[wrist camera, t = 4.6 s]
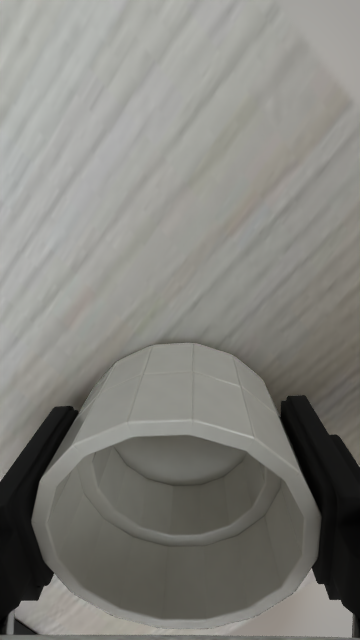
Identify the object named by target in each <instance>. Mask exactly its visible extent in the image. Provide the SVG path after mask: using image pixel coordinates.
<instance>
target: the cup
mask: <svg viewBox="0 0 360 640" xmlns="http://www.w3.org/2000/svg"><path fill="white" fill-rule="evenodd" d="M31 521H32V522H31V524H32V527H33V530H34V534H35V537H36V540H37V543H38V546H39V549H40V552H41V555H42V558H43V560H44V562H45V564H46V565H47V566H48V567H49V568H50V569H51V570H52V571H53V572H54V573H55V575H56V576H57V577H58V578H59V579H60V580H61V581H62V582H63V583H64V585H65V586H66V587H67V588H68V589H69V590H70V591H71V592H72V593H74V595H76V596H78V597H80V598H81V599H83V600H85V601H87V602H88V603H90V604H92V605H94V606H96V607H97V608H99V609H101V610H103V611H104V612H106V613H108V614H110V615H112V616H114V617H117V618H121V619H125V620H129V621H133V622H137V623H141V624H145V625H149V626H152V627H156V628H162V629H209V628H215V627H219V626H223V625H227V624H230V623H234V622H238V621H242V620H246V619H250V618H254V617H255V616H258V615H260V614H261V613H263V612H265V611H266V610H268V609H269V608H271V607H273V606H274V605H276V604H277V603H279V602H281V601H282V600H284V599H285V598H287V597H288V596H290V595H292V594H293V592H295V591H296V590H297V588H298V587H299V585H300V584H301V582H302V581H303V579H304V578H305V577H306V575H307V574H308V572H309V571H310V569H311V568H312V566H313V565H314V564H315V562H316V561H317V558H318V555H319V544H320V532H321V521H322V516H321V512H320V509H319V507H318V504H317V502H316V500H315V497H314V495H313V493H312V490H311V488H310V485H309V483H308V481H307V478H306V476H305V474H304V471H303V469H302V466H301V464H300V462H299V459H298V457H297V455H296V452H295V450H294V447H293V445H292V443H291V440H290V438H289V436H288V433H287V431H286V428H285V426H284V424H283V421H282V419H281V417H280V414H279V412H278V409H277V407H276V405H275V403H274V401H273V399H272V397H271V395H270V393H269V391H268V389H267V387H266V385H265V383H264V381H263V380H262V378H261V377H260V376H258V375H257V374H256V373H255V372H253V371H252V370H251V369H250V368H249V367H247V366H246V365H245V364H244V363H243V362H241V361H240V360H239V359H238V358H236V357H235V356H234V355H232V354H229V353H226V352H223V351H219V350H216V349H213V348H210V347H207V346H203V345H200V344H197V343H176V344H159V345H152V346H148V347H146V348H144V349H142V350H140V351H138V352H136V353H133V354H131V355H129V356H127V357H125V358H123V359H120V360H118V361H117V362H115V363H114V364H113V365H112V367H111V368H110V369H109V370H108V371H107V372H106V373H105V375H104V376H103V377H102V378H101V379H100V380H99V381H98V383H97V384H96V385H95V386H94V387H93V389H92V391H91V393H90V394H89V396H88V398H87V400H86V401H85V403H84V405H83V407H82V408H81V410H80V412H79V413H78V415H77V417H76V419H75V420H74V422H73V424H72V425H71V427H70V429H69V431H68V432H67V434H66V436H65V438H64V439H63V441H62V443H61V444H60V446H59V448H58V450H57V451H56V453H55V455H54V457H53V458H52V460H51V462H50V464H49V465H48V467H47V469H46V470H45V472H44V474H43V476H42V477H41V479H40V481H39V486H38V490H37V495H36V500H35V504H34V509H33V513H32V518H31Z"/></svg>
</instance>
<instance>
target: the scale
mask: <svg viewBox="0 0 360 640" xmlns="http://www.w3.org/2000/svg"><path fill="white" fill-rule="evenodd" d="M13 635H36V634H35V633H33V632H32V631H31V630H29V629H28V628H26V627H25V626H23V625H22V624H20V623H19V622H17V621H16V620H15V619H14V632H13Z"/></svg>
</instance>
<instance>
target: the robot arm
mask: <svg viewBox="0 0 360 640" xmlns="http://www.w3.org/2000/svg"><path fill="white" fill-rule="evenodd" d="M77 415H78V411H77V410H74V409H73V407H72V406H60V407H54V408H53V409H52V411H51V412H50V414H49V415H48V416H47V418H46V419H45V421H44V422H43V423H42V425H41V426H40V427H39V429H38V430H37V432H36V433H35V434H34V436H33V437H32V439H31V440H30V441H29V443H28V444H27V446H26V447H25V448H24V450H23V451H22V452H21V454H20V455H19V457H18V458H17V459H16V461H15V462H14V464H13V465H12V466H11V468H10V469H9V471H8V472H7V473H6V475H5V476H4V477H3V479H2V480H1V482H0V640H360V467H359V466H358V464H357V463H356V461H355V459H354V458H353V456H352V455H351V453H350V452H349V450H348V449H347V447H346V446H345V444H344V442H343V441H342V439H341V438H340V437H339V436H338V435H329V434H328V432H327V431H326V429H325V427H324V426H323V424H322V422H321V421H320V419H319V417H318V416H317V414H316V412H315V411H314V409H313V407H312V406H311V404H310V402H309V401H308V399H307V397H306V396H305V395H298V396H287V399H286V400H283V401H281V419H282V421H283V424H284V426H285V428H286V431H287V433H288V436H289V438H290V440H291V443H292V445H293V447H294V450H295V452H296V455H297V457H298V459H299V462H300V464H301V466H302V469H303V471H304V474H305V476H306V478H307V481H308V483H309V485H310V488H311V490H312V493H313V495H314V497H315V500H316V502H317V504H318V507H319V509H320V512H321V516H322V521H321V532H320V544H319V555H318V558H317V561H316V562H315V564H314V565H313V566H312V569H313V572H314V575H315V578H316V581H317V583H318V584H324V585H325V588H326V591H327V593H328V596H329V599H330V600H341V602H342V604H343V606H345V607H346V608H347V609H348V610H349V611H351V612H352V613H353V625H352V638H338V637H294V636H291V637H289V636H285V637H284V636H208V635H13V632H14V612H15V608H17V607H18V606H19V604H20V602H21V601H38V599H39V597H40V594H41V592H42V589H43V587H44V586H47V585H48V584H49V583H50V581H51V579H52V577H53V574H54V572H53V571H52V570H51V569H50V568H49V567H48V566H47V565H46V564H45V562H44V560H43V558H42V555H41V552H40V549H39V546H38V543H37V540H36V537H35V534H34V530H33V527H32V524H31V522H32V521H31V518H32V513H33V509H34V504H35V500H36V495H37V490H38V486H39V481H40V479H41V477H42V476H43V474H44V472H45V470H46V469H47V467H48V465H49V464H50V462H51V460H52V458H53V457H54V455H55V453H56V451H57V450H58V448H59V446H60V444H61V443H62V441H63V439H64V438H65V436H66V434H67V432H68V431H69V429H70V427H71V425H72V424H73V422H74V420H75V419H76V417H77Z"/></svg>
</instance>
